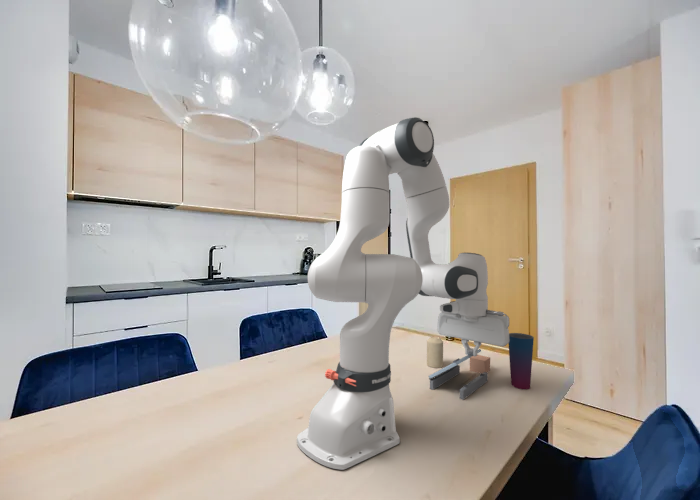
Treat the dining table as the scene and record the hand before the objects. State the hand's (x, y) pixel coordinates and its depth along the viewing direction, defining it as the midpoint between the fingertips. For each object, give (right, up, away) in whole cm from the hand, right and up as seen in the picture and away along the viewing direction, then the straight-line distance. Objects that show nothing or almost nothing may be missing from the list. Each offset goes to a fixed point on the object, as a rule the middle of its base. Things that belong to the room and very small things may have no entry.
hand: (471, 355), depth 93 cm
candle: (-6, -10, +19) cm, 22 cm away
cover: (-3, -4, +3) cm, 6 cm away
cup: (+15, -10, +2) cm, 18 cm away
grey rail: (-3, -10, +2) cm, 10 cm away
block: (+8, -10, +14) cm, 19 cm away
